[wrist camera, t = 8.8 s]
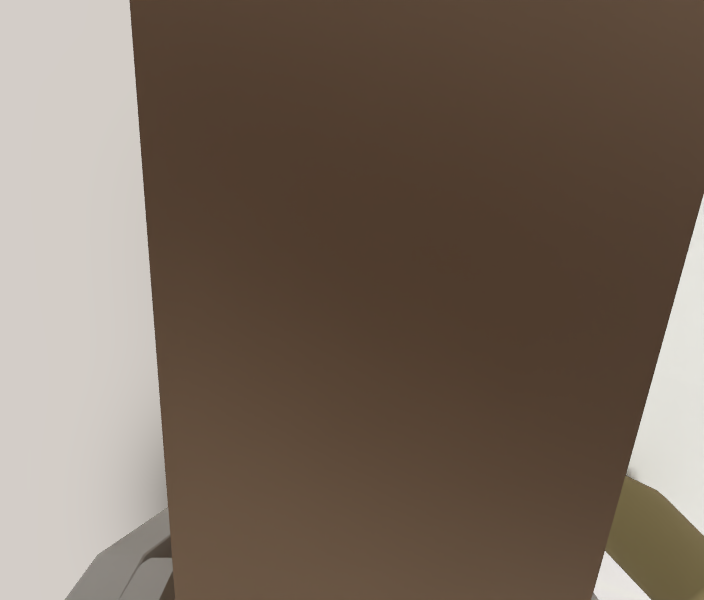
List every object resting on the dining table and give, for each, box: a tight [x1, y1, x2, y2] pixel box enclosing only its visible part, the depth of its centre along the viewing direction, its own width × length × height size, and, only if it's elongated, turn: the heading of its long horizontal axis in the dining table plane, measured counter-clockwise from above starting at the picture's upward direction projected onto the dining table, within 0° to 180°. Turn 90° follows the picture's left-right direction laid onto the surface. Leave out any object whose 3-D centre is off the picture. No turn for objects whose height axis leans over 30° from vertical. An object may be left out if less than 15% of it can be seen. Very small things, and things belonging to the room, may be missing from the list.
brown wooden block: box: [130, 0, 704, 600], centre depth 10 cm, size 16×4×14 cm, turn 177°
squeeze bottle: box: [605, 476, 704, 600], centre depth 29 cm, size 8×8×18 cm
